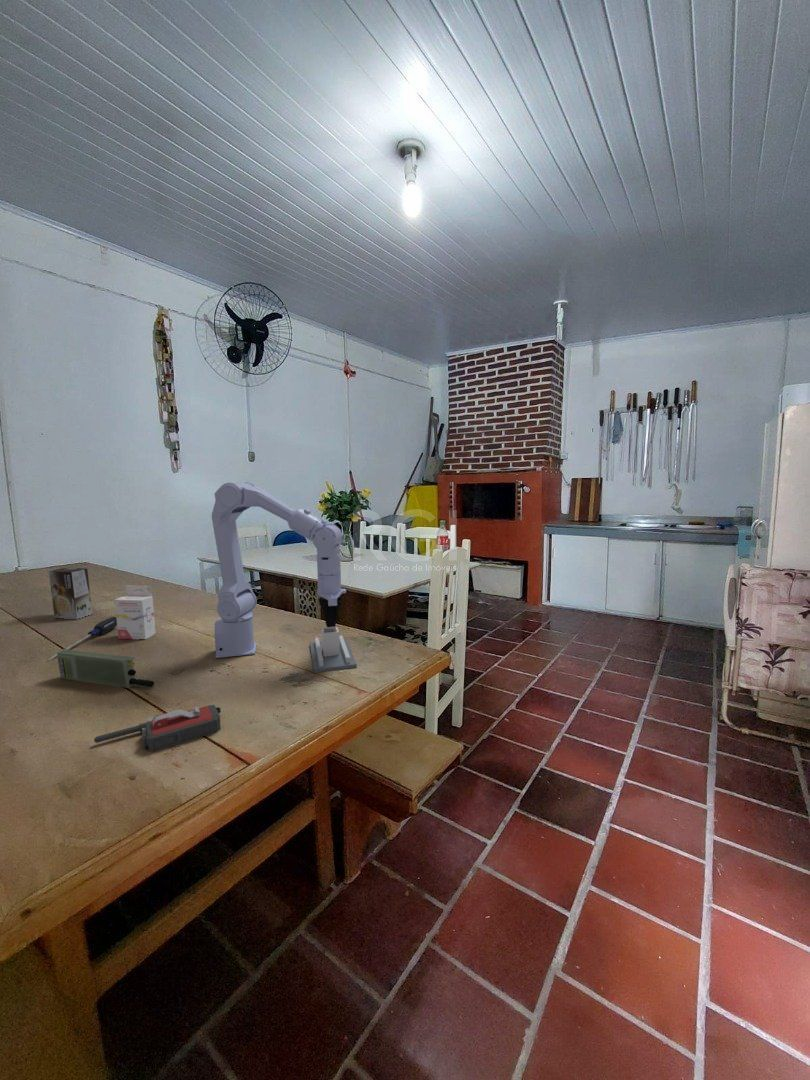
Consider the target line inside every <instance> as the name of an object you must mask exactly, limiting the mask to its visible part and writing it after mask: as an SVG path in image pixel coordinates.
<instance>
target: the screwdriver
mask: <svg viewBox="0 0 810 1080" xmlns="http://www.w3.org/2000/svg"><path fill="white" fill-rule="evenodd" d="M115 627H117V618H116V616H111V617H109V618H106V619H104V620H102V621H100V622H98V623H96V624H95V626H94V627H93V629H92V630H90V631H88V632H87V635H86V636H84V637H82V638H81V639H79V640H77V641H76V642H74V643H73V644H70V645H69V646H68V647H66V648H65V649H68V650H72V648H74V647H76V646H77V645H79V644H81V643H82V642H84V641H85V640H87V639H89V638H90V637H93V636H95V635H97V636H104V635H106V634H107V633H109V632H110V631H111V630H113V629H114V628H115ZM56 658H57V653H56V654H54V655H52V656H51V657H49V659H47V662H49V661H52V660H54V659H56Z"/></svg>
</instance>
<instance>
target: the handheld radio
mask: <svg viewBox="0 0 810 1080" xmlns="http://www.w3.org/2000/svg"><path fill="white" fill-rule="evenodd" d="M56 654H57V657H56V658H57V662H58V663H57V664H58V669H59V675H60V679H62V680H69V681H77V682H81V683H82V682H84V683H89V684H90V683H91V684H97V685H104V686H111V687H118V688H125V689H126V688H131V687H133V686H134V685H135V686H142V687H143V686H144V687H149V688H153V687H154V685H155V681H154V680H149V679H141V678H139V679H137V678H136V676H135V675H136V674H137V671H136V670H135V667H134V666H135V662H134V661H133V660H134V659H135V657H134V656H129V655H119V654H111V653H103V652H102V653H101V652H93V651H87V650H85V651H84V650H75V649H69V650H68V649H66V648H63V649H61V650H59V651H57V653H56Z"/></svg>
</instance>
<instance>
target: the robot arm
mask: <svg viewBox="0 0 810 1080" xmlns="http://www.w3.org/2000/svg"><path fill="white" fill-rule="evenodd" d="M214 499H215V501H214V504H213V509H212V512H211V521H212V527H213V532H214V538H215V545H216V550H217V556H218V557H217V558H218V562H219V568H220V576H221V580H222V585H221V587H220V589H219V591H218V592H217V597H218V602H217V605H216V612H217V614H218V616H219V618H221V619H216V620H215V622H214V643H215V645H214V646H215V658H216V659H220V658H230V657H239V656H250V655H255V654H256V650H257V645H258V642H256V641H255V634H254V618H253V617H254V616H253V615H254V613H253V610H254V609H255V608H256V606H257V603H258V602H257V596H256V594H255V592H253V589H252V584H250V582H248V581H247V580H246V577H245V571H244V566H243V559H242V558H243V557H242V552H241V547H240V546H241V545H240V539H239V535H238V528H237V523H236V521H237V519H238V518H239V517H240V516H241V515H242V514H243V512H244V511H247V510H248V509H249V508H253V507H258V508H261V509H263V510H265V511H267V512H269V513H271V514H273V515H274V516H277V517H279V518H280V519H282V520H284V521H286V522H287V525H288V528H289V529H290V530H292V531H294V532H295V533H297V534H298V535H299V536H302V537H303V538H305V539H308V540H309V541H310V542H312V544H313V546H314V547H315V548H316V554H317V555H316V566H317V567H316V568H317V572H316V573H317V593H316V594H317V596H319V598H318V599H317V600H318V604H319V606H320V607H321V609H322V611H323V617H324V621H325V625H326V628H329V627H336V625H337V619H338V614H339V610H340V607H341V605H342V603H343V599H342V597H341V595H342V594H346V593H347V590H346V588H342V576H341V575H342V574H341V572H342V569H341V567H342V566H341V547H340V544H341V542H342V541H343V533H342V530H341V529H340V528H339V526H337V525H336V524H334V523H328V521H327V520H326V519H320V518H318V517H317V516H315V515H313V514H312V513H311V512H312V511H311V510H310V509H308V508H305V509H302V508H298V509H293V507H290V506H289V505H287V504H285V503H284V502H283V501H281V500H280V499H278V498H277V497H275V496H273V495H272V494H271V493H269V492H267V491H266V490H264V489H263V488H262V487H259V486H256V485H255V484H253V483H251V482H249V481H248V482H246V481H245V482H240V483H239V482H225V483H223V484H221V485H220V487H219V488H217V490H216V491H215V492H214Z"/></svg>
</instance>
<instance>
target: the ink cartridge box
mask: <svg viewBox="0 0 810 1080" xmlns="http://www.w3.org/2000/svg"><path fill="white" fill-rule="evenodd" d="M124 588H125V593H126V595H123V596H119V597H118V598H115V599H114V604H115V605H114V606H115V617H116V618H117V626H116V629H117V637H118V640H139V639H146V640H147V639H149V638H151V637H153V636H155V635H156V634H157V633H156V624H155V622H156V621H155V620H156V619H155V612H154V611H155V609H154V608H155V607H154V600H153V598H154V596H153V593H152V587H151V586H150V585H131V584H130V585H127V584H126V585H125V586H124ZM137 589H139V590H142V591H137ZM135 590H136V591H135ZM154 634H155V635H154Z"/></svg>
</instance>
